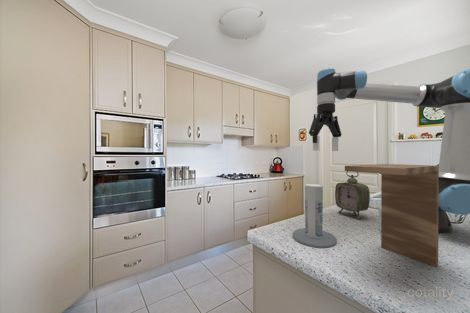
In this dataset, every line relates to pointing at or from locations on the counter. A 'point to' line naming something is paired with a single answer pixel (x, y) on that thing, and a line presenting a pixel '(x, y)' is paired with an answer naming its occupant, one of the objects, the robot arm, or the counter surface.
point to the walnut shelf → (408, 208)
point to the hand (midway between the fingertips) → (325, 150)
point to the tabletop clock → (352, 196)
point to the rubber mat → (323, 242)
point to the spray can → (313, 210)
